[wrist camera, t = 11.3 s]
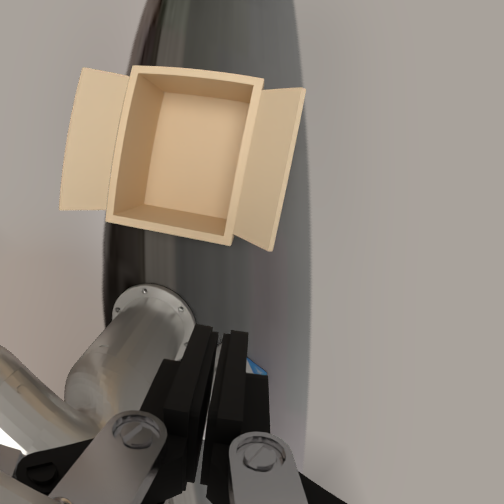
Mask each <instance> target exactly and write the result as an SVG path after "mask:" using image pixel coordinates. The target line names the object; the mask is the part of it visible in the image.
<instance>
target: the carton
mask: <svg viewBox="0 0 504 504" xmlns="http://www.w3.org/2000/svg"><path fill="white" fill-rule="evenodd" d="M262 90H264V79H262V78H256V77H250V76H244V75H238V74H231V73H224V72H216V71H207V70H198V69H187V68H175V67H159V66H133V67H132V71H131V74H130V78H129V82H128V86H127V91H126V95H125V99H124V104H123V108H122V113H121V118H120V123H119V128H118V133H117V139H116V145H115V150H114V157H113V163H112V170H111V177H110V184H109V192H108V201H107V211H106V221H105V222H110V223H115V224H121V225H126V226H131V227H136V228H141V229H146V230H151V231H156V232H161V233H167V234H172V235H177V236H182V237H187V238H192V239H197V240H202V241H207V242H212V243H217V244H223V245H228V246H231V244H232V241H233V239H234V236H235V235H234V234H233V231H234V226H235V221H236V215H237V210H238V205H239V200H240V195H241V190H242V184H243V179H244V174H245V169H246V164H247V159H248V154H249V149H250V144H251V139H252V135H253V130H254V125H255V120H256V115H257V110H258V106H259V101H260V96H261V91H262Z"/></svg>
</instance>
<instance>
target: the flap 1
mask: <svg viewBox="0 0 504 504" xmlns="http://www.w3.org/2000/svg"><path fill="white" fill-rule="evenodd" d="M128 80H129V76H126V75H121V74H116V73H111V72H106V71H101V70H96V69H89V68H82V71H81V74H80V78H79V82H78V86H77V91H76V95H75V99H74V104H73V109H72V113H71V118H70V124H69V129H68V135H67V141H66V148H65V155H64V162H63V170H62V179H61V189H60V201H59V210H106V206H107V197H108V189H109V181H110V173H111V166H112V160H113V154H114V148H115V142H116V136H117V131H118V125H119V120H120V116H121V111H122V106H123V102H124V97H125V93H126V89H127V84H128Z"/></svg>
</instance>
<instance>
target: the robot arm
mask: <svg viewBox="0 0 504 504" xmlns="http://www.w3.org/2000/svg"><path fill="white" fill-rule="evenodd" d="M145 289H147V290H145ZM181 307H183V308H181ZM212 329H213V327H210V326H204V325H198V324H196V322H195V318H194V315H193V313H192V311H191V309H190V308H189V306H188V305H187V304H186V302H185V301H184V300H183V299H182V298H181V297H180V296H179V295H177V294H176V293H175V292H173V291H172V290H170V289H168V288H166V287H163V286H160V285H156V284H148V283H147V284H139V285H135V286H132V287H130V288H129V289H127V290H126V291H125V292H123V293H122V294H121V295H120V297H119V298H118V299H117V301H116V303H115V305H114V308H113V312H112V322H111V323H110V324H109V325H108V326H107V327H106V329H105V330H104V331H103V332H102V333H101V334H100V335H99V337H98V338H97V339H96V340H95V341H94V342H93V343H92V345H91V346H90V347H89V348H88V349H87V350H86V352H85V353H84V354H83V355H82V356H81V357H80V359H79V360H78V361H77V362H76V363H75V365H74V366H73V367H72V369H71V370H70V372H69V374H68V377H67V380H66V385H65V396H64V398H65V401H63V400H62V399H60V398H59V397H58V396H57V395H56V394H55V393H53V392H52V391H51V390H50V389H49V388H48V387H46V385H44V384H43V383H42V382H41V381H40V380H39V379H38V378H37V377H36V376H35V375H34V374H33V373H32V372H30V370H29V369H28V368H26V366H24V365H23V364H22V363H21V362H20V361H19V360H18V359H17V358H16V357H15V356H14V355H13V354H12V353H11V352H10V351H8V350H7V349H5V348H4V347H3V346H1V345H0V504H169V500H170V498H172V497H174V496H176V495H179V494H181V493H182V490H183V491H185V490H186V485H187V482H192V483H194V482H195V477H196V472H197V466H198V461H199V456H200V451H201V446H202V440H203V435H204V430H205V425H206V432H205V442H204V451H203V461H202V471H201V481H200V484H203V485H208V487H207V494H206V498H207V499H208V500H209V501H210V502H211V503H213V504H347V503H345V502H344V501H342V500H340V499H339V498H337V497H336V496H334V495H333V494H331V493H329V492H328V491H326V490H325V489H323V488H322V487H320V486H319V485H317V484H316V483H314V482H313V481H311V480H310V479H308V478H307V477H305V476H304V475H303V474H301V473H300V472H299V471H298V470H297V467H296V463H295V460H294V457H293V454H292V451H291V449H290V447H289V445H288V444H287V443H285V442H284V441H283V440H282V439H280V438H279V437H277V436H275V435H272V434H270V415H269V388H268V376H267V375H261V374H253V373H246V363H247V347H248V332H241V331H234V330H231V334H225V333H224V335H223V340H222V345H221V350H220V355H219V360H218V365H217V370H216V375H215V380H214V385H213V390H212V382H213V374H214V365H215V357H216V349H217V342H218V332H212ZM181 358H182V360H181V362H180V361H178V360H180V359H181ZM211 390H212V395H211ZM210 398H211V400H210ZM207 415H208V416H207ZM206 420H207V423H206Z"/></svg>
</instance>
